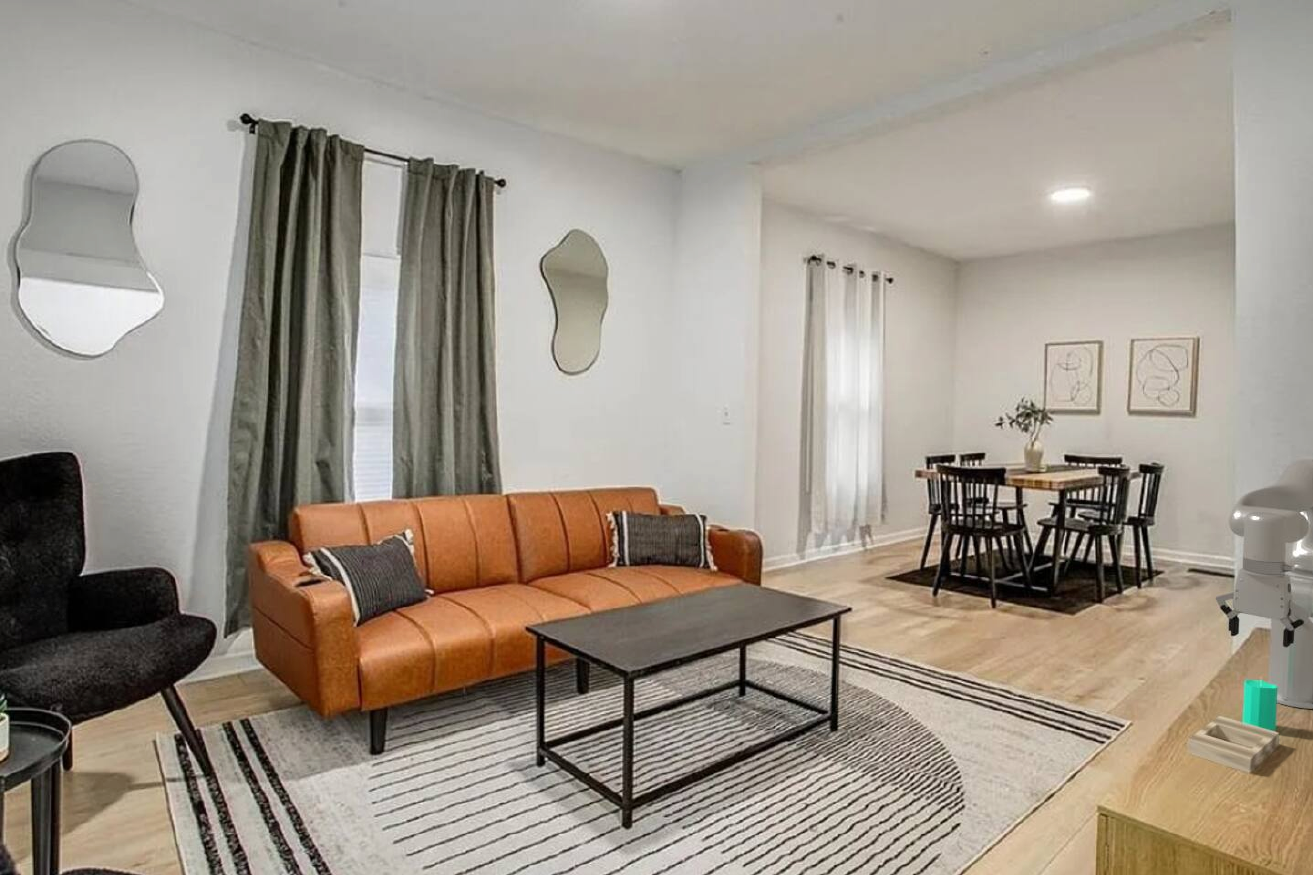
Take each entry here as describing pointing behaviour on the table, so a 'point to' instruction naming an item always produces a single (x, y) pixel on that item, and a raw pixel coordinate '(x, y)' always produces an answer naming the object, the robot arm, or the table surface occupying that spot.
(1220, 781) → the table surface
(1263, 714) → the candle
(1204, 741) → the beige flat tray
